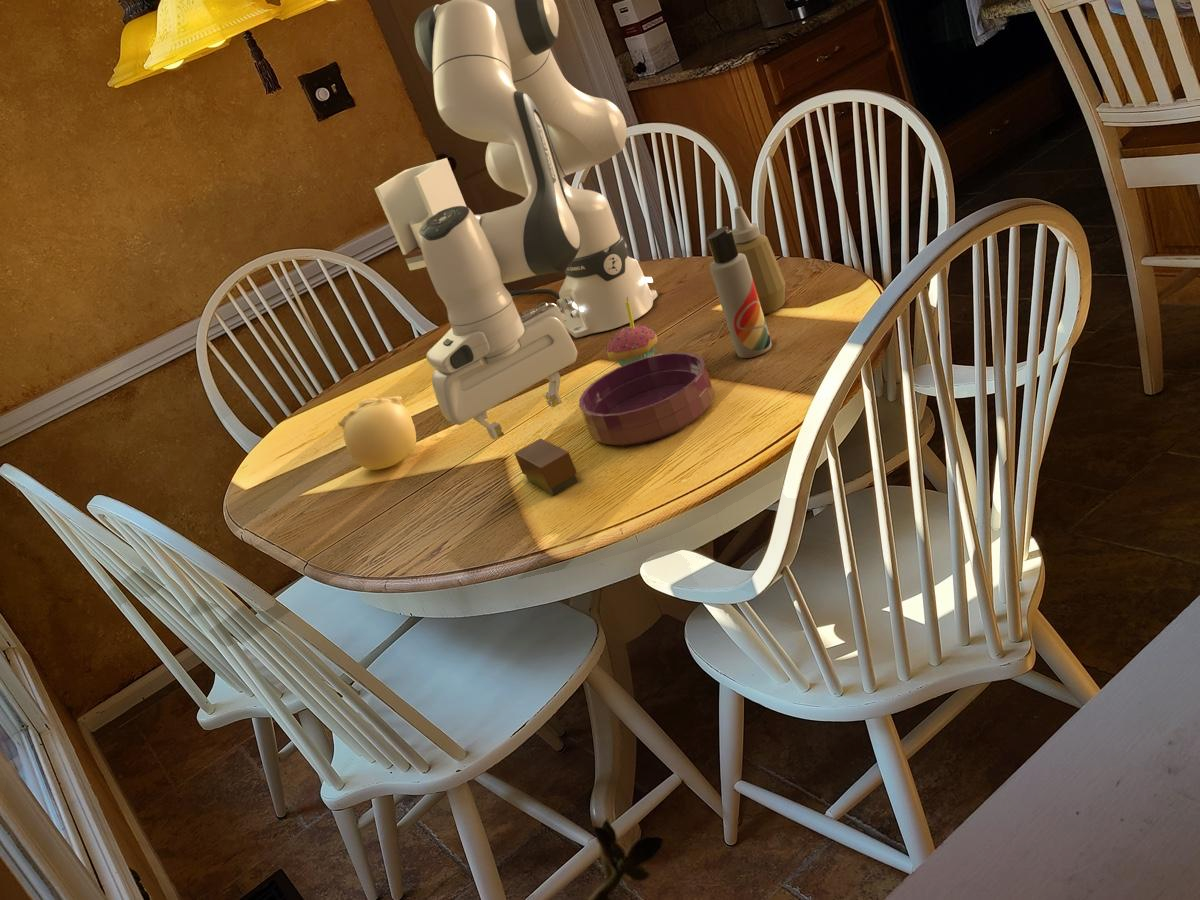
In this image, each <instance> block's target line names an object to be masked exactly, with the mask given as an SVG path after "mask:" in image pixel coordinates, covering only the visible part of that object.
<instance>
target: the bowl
mask: <svg viewBox="0 0 1200 900" xmlns="http://www.w3.org/2000/svg"><path fill="white" fill-rule="evenodd" d="M713 386H714V385H713V383H712V380H711V378H710V374H709V371H708V368H707V366H706V362H705V359H704V358H702V357H701V356H700V355H699V354H695V353H692V352H687V351H686V352H685V351H672V352H664V353H659V354H654V355H653V356H649V357H645V358H642V359H639V360H636V361H633V362H630V363H628V364H626V365H623V366H621V365H620V366H618V367H616V368H614V369H612V370H611V371H609V372H607V373H605V374H604V375H602V376H600V377H599V378H598V379H596V380H594V382H592V383H591V384H590V385H589V386H588V387H586V389H585V390H584V391H583V393H581V395H580V398H579V399H578V407H579V410H580V412H581V415H582V418H583V421H584V423H585V425H586V428H587V430H588V431H587V432H588V433H589V435H590V436H591V438H592V439H593V440H595V441H597V442H599V443H601V444H606V445H610V446H616V447H617V446H618V447H626V446H627V447H628V446H635V445H636V446H637V445H641V444H646V443H650V442H654V441H657V440H660V439H664V438H666V437H668V436H670V435H672V434H674V433H677V432H679V431H680V430H682V429H684V428H686V427H688V426H690V424H692V423H693V422H694V421H696V420H697V419H698V418H700V417H701V416H702V415H703V414H704V412H705V411H706V410H707V409H708V407H709V406H710V404H712V402H713V399H714V397H715V390H714V387H713Z"/></svg>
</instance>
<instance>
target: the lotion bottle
mask: <svg viewBox="0 0 1200 900" xmlns="http://www.w3.org/2000/svg"><path fill="white" fill-rule="evenodd" d="M706 240H707V244H708V246H709V249H710V253H711V255H712V259H713V261H712V262H711V263H710V264H709V271H710V274H711V277H712V281H713V284H714V287H715V290H716V293H717V296H718V297H717V298H718V300H719V303H720V306H721V310H722V313H723V316H724V319H725V322H726V325H727V329H728V332H729V335H730V338H731V342H732V344H733V348H734V351H735V353H736V356H737V357H739V358H742V359H750V358H751V359H752V358H755V357H758V356H762V355H763V354H765V353H766V352H768V351H769V350H771V348H772V339H771V335H770V332H769V329H768V325H767V322H766V318H765V314H763V312H762V308H761V305H760V302H759V298H758V295H757V291H756V288H755V285H754V281H753V278H752V275H751V271H750V268H749V265H748V261H747V258H746V256H745V255H744V254H742V253H738V251H737V247H736V244H735V241H734V237H733V234H732V229H731V228H729V226H726V225H725V226H722V227H719V228H716V229H713V230H712V231H710V233H709V234H708V235H707V237H706Z"/></svg>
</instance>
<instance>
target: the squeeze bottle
mask: <svg viewBox="0 0 1200 900" xmlns="http://www.w3.org/2000/svg"><path fill="white" fill-rule="evenodd" d="M733 210H734V224H735V228H733V229H731V231H732V234H733V237H734V241H735V244H736V247H737V251H738V253H742V254H744V255H745V256H746V258H747V261H748V265H749V268H750V271H751V275H752V278H753V281H754V285H755V288H756V291H757V295H758V298H759V302H760V305H761V308H762V312H763V315H767V314H770V313H773V312H775V311H778V310H779V309H780V308H782V307H783V306H784V305H785V299H786V281H785V278H784V275H783V273H782V270H781V268H780V266H779V263H778V261H777V258H776V256H775V253H774V251H773V249H772V246H771V243H770V240H769V238H768V236H766V235H764V234H761V231H760V227H759V225H758V223H755V222H750V220H749V218H748V216H747V213H746V212H745V210H744V209H743V207H742V205H740V206H736V207H734V209H733Z"/></svg>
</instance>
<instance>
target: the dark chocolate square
mask: <svg viewBox="0 0 1200 900" xmlns="http://www.w3.org/2000/svg"><path fill="white" fill-rule="evenodd" d="M513 455H514V456H515V457H516V461H517V463H518V466H519V469H520V470H521V473H522V474H523V475H525V477H526V479H527V481H528V482H530V483H532V484H534V485H535V486H537V487H538V488H540V489H542V490H543V491H546V493H548V494H550V495H552V496H556V495H558V494H559V493H561V492H563V491H565V490H567V489H568V488H570V487H572V486H573V485H575V484H577V483H578V482H579V480H578V477H577V475H578V472H577V469H576V467H575V464H574V461H573V459H572V457H571V455H570V452H569V451H567V450H566V449H563V448H561V447H559V446H557V445H555V444H553V443H551V442H549V441H547V440H545V439H543V438H542V437H540V438H537V440H535V441H533V442H530V443H529V444H527V445H525V446H524V447H522V448H520V449H519V450H516V451H515V452H514V453H513Z"/></svg>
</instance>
